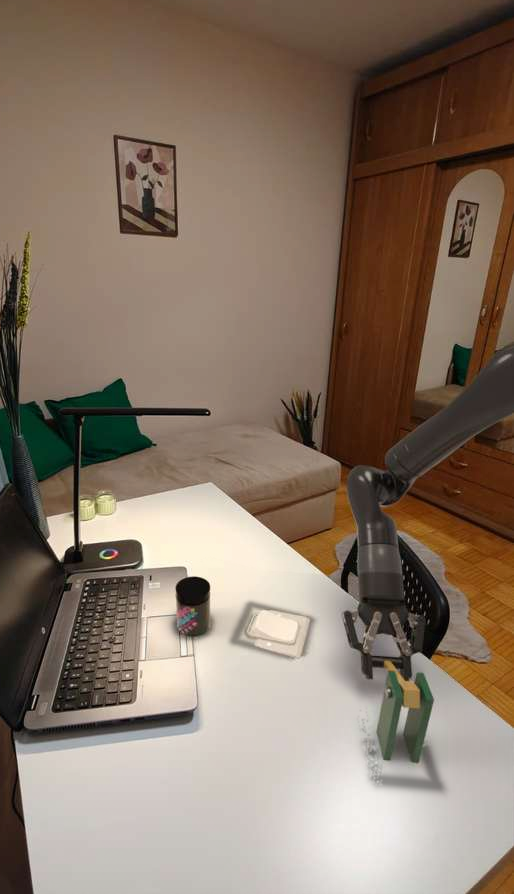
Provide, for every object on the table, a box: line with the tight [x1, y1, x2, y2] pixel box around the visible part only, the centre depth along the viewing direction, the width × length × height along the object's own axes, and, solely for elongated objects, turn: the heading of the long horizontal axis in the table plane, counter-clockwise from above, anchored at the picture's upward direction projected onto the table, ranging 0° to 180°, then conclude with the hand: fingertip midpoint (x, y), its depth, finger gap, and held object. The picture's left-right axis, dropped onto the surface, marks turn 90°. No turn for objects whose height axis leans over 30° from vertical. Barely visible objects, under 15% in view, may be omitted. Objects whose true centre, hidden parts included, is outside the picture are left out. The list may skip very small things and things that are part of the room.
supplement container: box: [175, 575, 211, 638], centre depth 87 cm, size 7×7×10 cm
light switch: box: [246, 609, 311, 659], centre depth 87 cm, size 11×4×13 cm
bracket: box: [376, 671, 435, 764], centre depth 63 cm, size 10×8×14 cm
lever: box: [372, 654, 420, 709], centre depth 67 cm, size 13×5×2 cm, turn 176°
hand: (387, 679), depth 72 cm, fingers closed on lever, 5 cm apart
